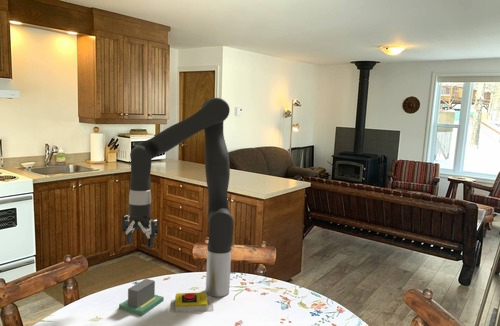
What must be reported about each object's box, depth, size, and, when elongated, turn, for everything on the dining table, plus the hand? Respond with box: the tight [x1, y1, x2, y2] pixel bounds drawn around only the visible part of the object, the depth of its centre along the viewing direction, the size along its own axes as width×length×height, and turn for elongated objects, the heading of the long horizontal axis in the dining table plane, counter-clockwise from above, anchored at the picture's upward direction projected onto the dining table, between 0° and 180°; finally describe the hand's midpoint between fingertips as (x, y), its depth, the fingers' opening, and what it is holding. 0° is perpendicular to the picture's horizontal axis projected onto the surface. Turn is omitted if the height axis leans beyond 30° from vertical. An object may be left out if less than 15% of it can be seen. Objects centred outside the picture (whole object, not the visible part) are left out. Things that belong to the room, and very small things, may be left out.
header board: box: [118, 294, 164, 317], centre depth 134 cm, size 12×10×5 cm
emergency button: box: [170, 292, 214, 314], centre depth 135 cm, size 9×4×15 cm
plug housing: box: [127, 278, 156, 308], centre depth 133 cm, size 10×4×6 cm, turn 157°
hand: (139, 245), depth 135 cm, fingers open, 8 cm apart
